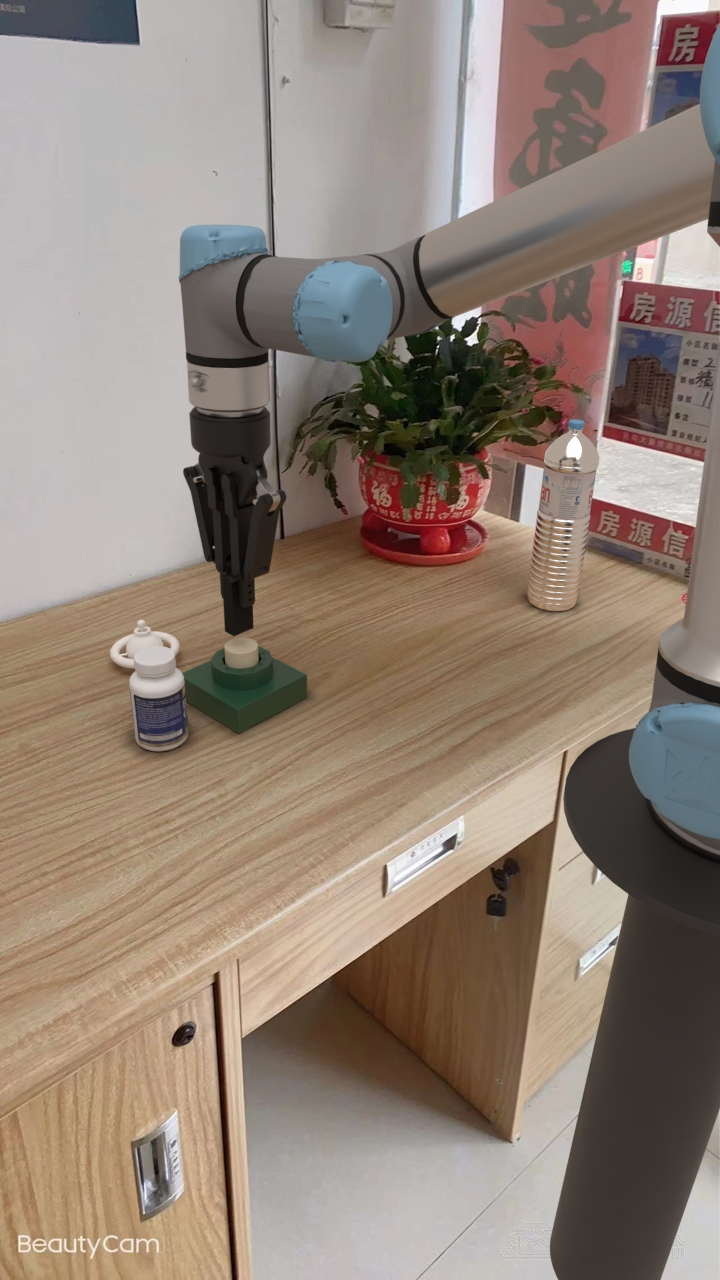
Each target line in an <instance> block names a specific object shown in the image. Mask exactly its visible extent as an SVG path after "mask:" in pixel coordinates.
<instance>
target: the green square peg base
mask: <svg viewBox="0 0 720 1280" xmlns="http://www.w3.org/2000/svg"><path fill="white" fill-rule="evenodd" d="M258 656H259V662H258V664H257V665H255V666H253V667H250V668H243V669H238V668H230V667H228V666H227V665H226V664H225V649H224V647H223V648H221V649H219V650H217V651H215V653H213V655H212V657H211V658H210V660H208V661H206V662H203V663H201V664H199V665H197V666H195V667H192V668H190V669H188V670H185V671H183V672H182V674H183V676H184V681H185V693H186V703H188V704H189V705H191V706H192V707H194V708H196V709H197V710H199V711H201V712H202V713H204V714H206V715H207V716H209V717H210V718H212V719H213V720H215V721H216V722H218V723H220V724H222V725H224V726H225V727H227V728H228V729H230V730H231V731H233V732H235V733H236V734H241V733H242V732H243V733H244V732H245V731H246V730H249V729H250V728H252V727H254V726H257V725H258V724H260V723H262V722H263V721H265V720H268V719H269V718H271V717H274V716H275V715H277V714H280V713H281V712H283V711H285V710H287V709H288V708H291V707H292V706H294V705H296V704H298V703H300V702H302V701H303V700H306V699H307V698H308V675H307V674H306V673H305V672H302V671H300V670H298V669H296V668H294V667H292V666H291V665H289V664H287V663H285V662H283V661H281V660H279V659H277V658H276V657H273V656H272V654H271V652H270V651H269V650H267V649H266V648H264V647H262V646H260V645H258Z"/></svg>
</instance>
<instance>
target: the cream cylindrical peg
mask: <svg viewBox="0 0 720 1280" xmlns="http://www.w3.org/2000/svg"><path fill="white" fill-rule="evenodd" d="M258 646H259V643H258V641H256V640H254V639H252V638H249V637H235V638H232V639H230V640H227V641H226V642H225V643H224V646H223V648H224V649H225V664H226V665H227V666H228V667H230V668H238V669H243V668H250V667H253V666H255V665H257V664H258V662H259V656H258Z"/></svg>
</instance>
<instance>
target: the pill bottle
mask: <svg viewBox="0 0 720 1280" xmlns="http://www.w3.org/2000/svg"><path fill="white" fill-rule="evenodd" d="M134 668H135V669H134V671H133V673H132V674H131V675H130V677H129V680H128V688H129V697H130V705H131V714H132V723H133V730H134V731H133V732H134V739H135V741H136V743H137V745H138V746H139V747H141V748H142V749H144V750H147V751H150V752H165V751H171V750H174V749H176V748H177V747H180V746H181V745H183V744H184V743H185V742H186V741H187V739H188V737H189V719H188V717H189V716H188V707H187V705H188V704H187V702H186V693H185V681H184V676H183V674H182V673H183V672H182V671H181V670H180V669H179V668H177V660H176V656H175V653H174V651H173V650H172V649H170V647H167V646H164V647H163V646H152V647H147V648H143V649H141V650H139V651H138V652H136V653H135V655H134Z"/></svg>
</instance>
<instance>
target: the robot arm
mask: <svg viewBox="0 0 720 1280" xmlns="http://www.w3.org/2000/svg"><path fill="white" fill-rule="evenodd" d="M704 221H707V226H706V228H707V229H706V232H707V234H708V235H709V236H710V237H711V239H712V240H713V241H714V242H715V243H716V245H717V246H718V247H719V248H720V23H719V24H718V26H717V28H716V30H715V33H714V34H713V36H712V39H711V41H710V45H709V47H708V50H707V53H706V56H705V59H704V64H703V68H702V73H701V77H700V86H699V103H698V104H696V105H693V106H692V107H690V108H688V109H686V110H683V111H681V112H679V113H676V115H673V116H671V117H669V118H666V119H665V120H662V121H660V122H658V123H656V124H653V125H652V126H650V127H647V128H646V129H643V130H642V131H639V132H637V133H635V134H633V135H631V136H629V137H627V138H624V139H622V140H621V141H618V142H616V143H614V144H612V145H609V146H607V147H605V148H603V149H601V150H599V151H597V152H595V153H592V154H591V155H589V156H587V157H584V158H583V159H580V160H578V161H576V162H573V163H572V164H570V165H567V166H565V167H564V168H561V169H560V170H557V171H555V172H553V173H550V174H549V175H546V176H544V177H542V178H540V179H538V180H536V181H534V182H532V183H529V184H528V185H526V186H523V187H521V188H519V189H517V190H515V191H512V192H511V193H509V194H506V195H504V196H503V197H501V198H498V199H496V200H493V201H492V202H489V203H488V204H485V205H483V206H481V207H479V208H477V209H475V210H473V211H471V212H468V213H466V214H464V215H461V216H459V217H458V218H456V219H454V220H452V221H449V222H447V223H445V224H443V225H441V226H439V227H437V228H435V229H433V230H431V231H428V232H426V234H424V235H421V236H418V237H415V238H414V239H412V240H410V241H408V242H406V243H403V244H401V245H399V246H397V247H395V248H392V249H389V250H387V251H383V252H374V253H365V254H358V255H357V254H355V255H348V256H347V255H346V256H345V255H344V256H336V257H325V258H303V257H302V258H301V257H300V258H299V257H288V256H287V257H286V256H277V255H272V254H269V252H270V250H268V247H267V236H266V234H265V233H266V232H265V231H264V230H263V229H262V228H260V227H257V226H251V225H242V224H196V225H191V226H188V227H186V228H185V229H184V230H183V231H182V232H181V235H180V237H179V275H178V282H179V284H180V293H181V294H180V296H181V304H182V316H183V332H184V343H185V345H184V346H185V347H184V348H185V360H186V371H187V389H188V402H189V403H190V405H192V406H193V408H192V409H191V410H190V412H189V413H188V414H189V429H190V430H189V431H190V443H191V446H192V448H193V450H194V451H196V452H197V453H199V454H198V457H197V459H198V462H197V463H195V464H194V465H190V466H187V467H184V468H183V470H182V472H183V473H182V474H183V477H184V479H185V482H186V484H187V486H188V489H189V491H190V495H191V500H192V505H193V509H194V513H195V519H196V524H197V529H198V534H199V538H200V542H201V547H202V552H203V556H204V559H205V561H206V562H207V563H211V562H212V563H213V564H214V565H215V569H216V571H217V572H218V573H219V585H220V587H219V588H220V595H221V599H222V602H223V622H224V632H225V633H226V634H228V635H231V636H233V637H236V636H238V635H240V634H243V633H245V632H247V631H250V630H252V629H254V605H255V602H256V583H255V581H256V580H255V579H256V578H259V577H261V576H264V575H266V574H268V573H270V570H271V564H272V558H273V551H274V545H275V540H276V534H277V528H278V522H279V516H280V512H281V511H282V508H283V506H284V505H285V502H286V500H287V494H286V492H285V491H284V490H283V489H278V490H275V489H274V487H273V486H272V485H271V484H270V482H269V481H268V470H267V467H266V463H265V458H264V457H265V454H266V452H267V451H268V449H269V448H270V446H271V443H272V440H271V412H270V410H269V409H268V408H267V407H266V406H268V405H269V404H270V402H271V386H270V385H271V384H270V359H269V357H270V355H269V354H270V353H269V351H270V350H273V351H280V352H284V353H290V354H295V355H301V356H307V357H311V358H317V359H320V360H323V361H324V362H330V363H337V362H339V361H341V362H348V363H349V362H350V363H362V362H363V363H364V362H366V361H368V360H371V359H372V358H374V356H375V355H376V353H377V351H378V350H379V349H380V348H382V347H383V346H384V345H385V343H386V341H390V340H393V339H400V338H403V337H414V336H418V335H420V334H424V333H428V332H430V331H432V330H434V329H435V328H437V327H439V326H441V325H442V324H443V323H445V322H447V321H449V320H451V319H453V318H456V317H457V316H461V315H464V314H466V313H468V312H471V311H473V310H476V309H479V308H482V307H484V306H486V305H489V304H492V303H495V302H497V301H500V300H502V299H505V298H507V297H510V296H513V295H516V294H518V293H520V292H524V291H526V290H528V289H530V288H534V287H537V286H538V285H541V284H544V283H546V282H549V281H552V280H554V279H556V278H559V277H562V276H565V275H567V274H570V273H572V272H575V271H578V270H580V269H583V268H585V267H588V266H590V265H593V264H596V263H599V262H601V261H604V260H606V259H609V258H611V257H614V256H616V255H618V254H621V253H624V252H626V251H630V250H632V249H635V248H637V247H640V246H642V245H644V244H647V243H649V242H652V241H655V240H658V239H660V238H663V237H666V236H668V235H671V234H674V233H675V232H678V231H681V230H684V229H686V228H688V227H692V226H694V225H696V224H699V223H701V222H704ZM712 391H713V392H712V397H711V406H710V412H709V413H710V414H709V421H708V428H707V429H708V430H707V436H706V444H705V453H704V460H703V468H702V474H701V475H702V476H701V483H700V491H699V499H698V506H697V514H696V522H695V531H694V536H693V537H694V538H693V545H692V551H691V553H692V554H691V561H690V567H689V575H688V583H687V591H686V599H685V605H684V614H683V618H681V619H679V620H678V621H676V622H674V623H673V624H671V625H670V626H668V627H667V628H665V629H664V631H662V633H661V635H660V637H659V640H658V648H657V654H656V655H657V656H656V663H655V670H654V678H653V686H652V692H651V693H652V695H651V701H650V705H649V708H648V712H646V713H645V714H644V715H643V716H642V717H641V718H640V720H639V721H638V723H637V724H636V725H635V728H636V729H635V731H634V733H633V738H632V740H631V743H630V748H629V764H630V768H631V772H632V775H633V778H634V780H635V782H636V784H637V786H638V788H639V789H640V791H641V793H642V794H643V795H644V797H645V798H646V801H647V806H648V810H649V812H650V815H651V816H652V818H653V820H654V821H655V823H656V824H657V825H658V826H659V828H660V829H661V830H662V831H663V832H664V833H665V834H666V835H667V836H669V837H670V838H671V839H672V840H674V841H675V842H676V843H678V844H679V845H681V846H682V847H684V848H686V849H687V850H689V851H691V852H693V853H695V854H697V855H699V856H701V857H703V858H706V859H708V860H711V861H713V862H716V863H719V864H720V342H719V344H718V351H717V360H716V366H715V373H714V383H713V389H712Z"/></svg>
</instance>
